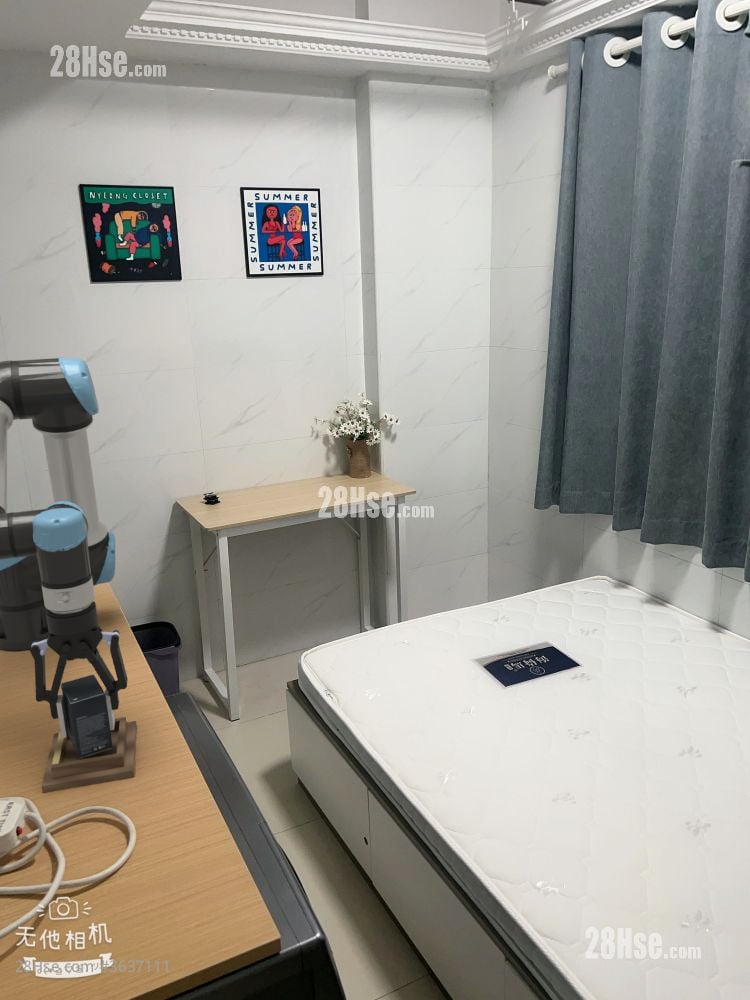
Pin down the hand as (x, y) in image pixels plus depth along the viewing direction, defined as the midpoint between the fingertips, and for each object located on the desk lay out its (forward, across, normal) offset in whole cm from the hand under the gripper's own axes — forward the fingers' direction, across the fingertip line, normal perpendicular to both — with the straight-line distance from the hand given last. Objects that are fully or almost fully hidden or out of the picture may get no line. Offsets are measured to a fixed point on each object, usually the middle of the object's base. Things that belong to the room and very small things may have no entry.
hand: (88, 729), depth 127 cm
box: (+3, 0, 0) cm, 3 cm away
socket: (+6, 0, 0) cm, 6 cm away
